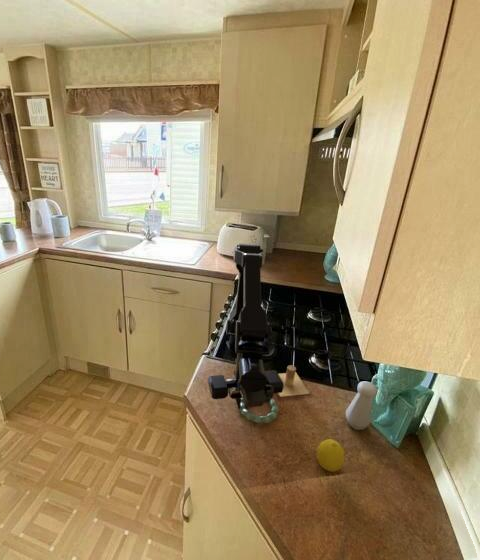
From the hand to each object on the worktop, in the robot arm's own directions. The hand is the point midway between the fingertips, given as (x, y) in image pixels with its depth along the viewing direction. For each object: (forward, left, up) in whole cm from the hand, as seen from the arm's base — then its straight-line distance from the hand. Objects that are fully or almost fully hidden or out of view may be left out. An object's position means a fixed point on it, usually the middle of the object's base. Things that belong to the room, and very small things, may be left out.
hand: (242, 407), depth 84 cm
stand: (-7, +16, -1) cm, 18 cm away
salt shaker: (+8, +28, -1) cm, 30 cm away
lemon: (+18, +14, -1) cm, 23 cm away
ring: (0, +4, 0) cm, 4 cm away
